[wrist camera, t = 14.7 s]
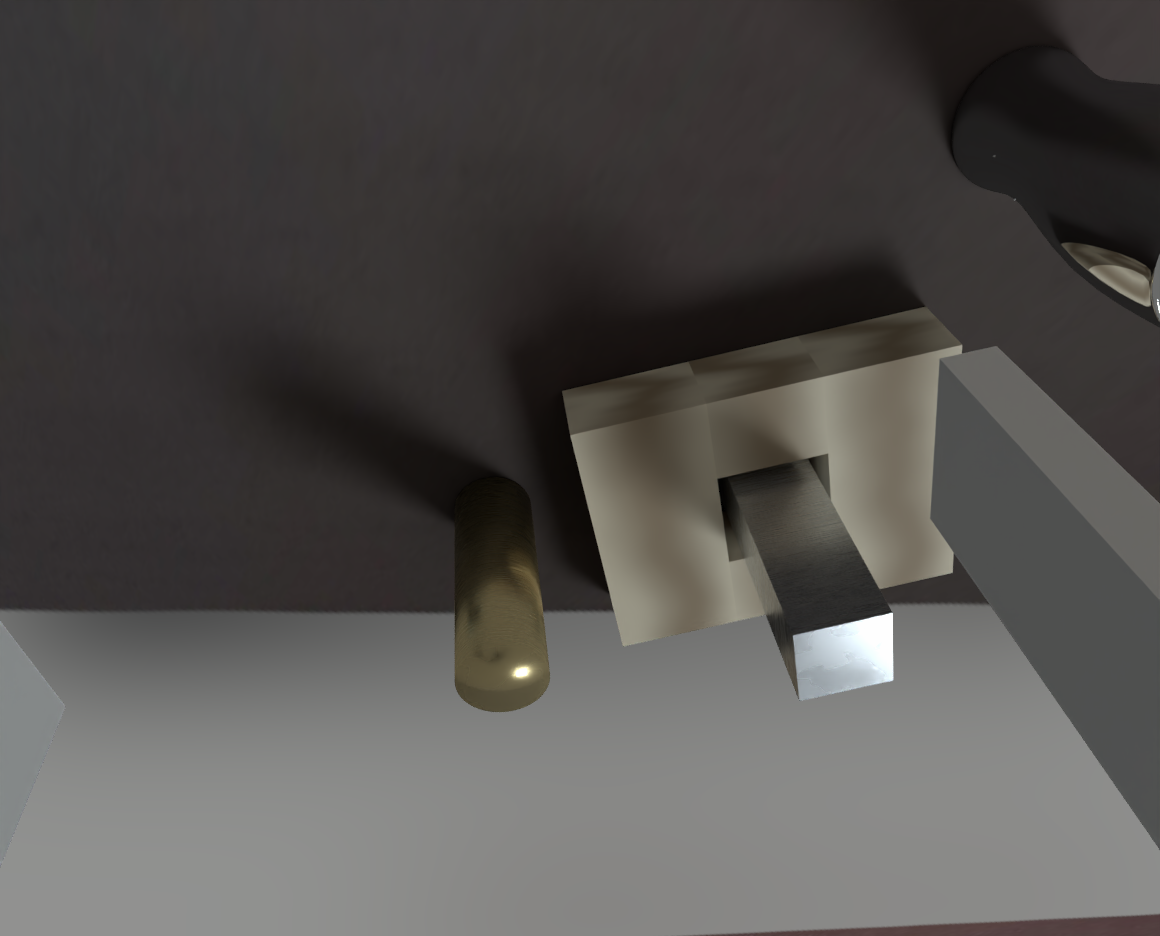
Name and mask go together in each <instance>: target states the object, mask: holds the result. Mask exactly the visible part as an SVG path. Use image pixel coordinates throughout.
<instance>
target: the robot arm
mask: <svg viewBox="0 0 1160 936" xmlns="http://www.w3.org/2000/svg"><path fill="white" fill-rule="evenodd" d="M930 519H931V520H932V522H933V523H934V525H935V526H936V528H937V529H938V531H939V532H940V533H941V535H942V536H943V538H944V539H945V541H946V542H947V544H948V545H949V546H950V548H951V549H952V551H953V552H954V554H955V555H956V556H957V558H958V559H959V561H960V562H961V564H962V565H963V567H964V568H965V569H966V571H967V572H968V574H969V575H970V577H971V578H972V580H973V581H974V582H975V584H976V585H977V587H978V588H979V590H980V591H981V593H982V594H983V595H984V597H985V598H986V600H987V601H988V603H989V604H990V606H991V607H992V608H993V610H994V611H995V613H996V614H997V616H998V617H999V618H1000V620H1001V621H1002V623H1003V624H1004V626H1005V627H1006V629H1007V630H1008V631H1009V633H1010V634H1011V636H1012V637H1013V639H1014V640H1015V642H1016V643H1017V644H1018V646H1019V647H1020V649H1021V650H1022V652H1023V653H1024V655H1025V656H1026V657H1027V659H1028V660H1029V662H1030V663H1031V665H1032V666H1033V667H1034V669H1035V670H1036V672H1037V673H1038V675H1039V676H1040V677H1041V679H1042V680H1043V682H1044V683H1045V685H1046V686H1047V688H1048V689H1049V691H1050V692H1051V693H1052V695H1053V696H1054V698H1055V699H1056V701H1057V702H1058V704H1059V705H1060V706H1061V708H1062V709H1063V711H1064V712H1065V714H1066V715H1067V717H1068V718H1069V719H1070V721H1071V722H1072V724H1073V725H1074V727H1075V728H1076V729H1077V731H1078V732H1079V734H1080V735H1081V736H1082V738H1083V740H1084V741H1085V742H1086V744H1087V745H1088V747H1089V748H1090V750H1091V751H1092V752H1093V754H1094V755H1095V757H1096V758H1097V760H1098V761H1099V763H1100V764H1101V765H1102V767H1103V768H1104V770H1105V771H1106V773H1107V774H1108V775H1109V777H1110V779H1111V780H1112V781H1113V783H1114V784H1115V786H1116V787H1117V788H1118V790H1119V791H1120V793H1121V794H1122V796H1123V797H1124V799H1125V800H1126V802H1127V803H1128V804H1129V806H1130V807H1131V809H1132V810H1133V812H1134V813H1135V815H1136V816H1137V817H1138V819H1139V820H1140V822H1141V823H1142V825H1143V826H1144V827H1145V829H1146V830H1147V832H1148V833H1149V835H1150V836H1151V838H1152V839H1153V841H1154V842H1155V843H1156V845H1157V846H1158V848H1159V849H1160V503H1159V502H1157V501H1156V500H1155V499H1154V498H1153V497H1152V496H1151V495H1150V494H1149V493H1148V492H1147V491H1146V490H1145V489H1144V488H1143V487H1142V486H1141V485H1140V484H1139V483H1138V482H1137V481H1136V480H1135V479H1134V478H1133V477H1132V476H1131V475H1130V474H1128V473H1127V472H1126V471H1125V470H1124V469H1123V468H1122V467H1121V466H1120V465H1119V464H1118V463H1117V462H1116V461H1115V460H1114V459H1113V458H1112V457H1111V456H1110V455H1109V454H1108V453H1107V452H1106V451H1105V450H1104V449H1103V448H1102V447H1100V446H1099V445H1098V444H1097V443H1096V442H1095V441H1094V440H1093V439H1092V438H1091V437H1090V436H1089V435H1088V434H1087V433H1086V432H1085V431H1084V430H1083V429H1082V428H1081V427H1080V426H1079V425H1078V424H1077V423H1076V422H1075V421H1074V420H1073V419H1071V418H1070V417H1069V416H1068V415H1067V414H1066V413H1065V412H1064V411H1063V410H1062V409H1061V408H1060V407H1059V406H1058V405H1057V404H1056V403H1055V402H1054V401H1053V400H1052V399H1051V398H1050V397H1049V396H1048V395H1047V394H1046V393H1045V392H1043V391H1042V390H1041V389H1040V388H1039V387H1038V386H1037V385H1036V384H1035V383H1034V382H1033V381H1032V380H1031V379H1030V378H1029V377H1028V376H1027V375H1026V374H1025V373H1024V372H1023V371H1022V370H1021V369H1020V368H1019V367H1018V366H1017V365H1015V364H1014V363H1013V362H1012V361H1011V360H1010V359H1009V358H1008V357H1007V356H1006V355H1005V354H1004V353H1003V352H1002V351H1001V350H1000V349H999V348H998V347H997V346H995V347H990V348H986V349H981V350H977V351H972V352H967V353H963V354H958V355H954V356H949V357H944V358H940V359H939V376H938V393H937V410H936V427H935V444H934V461H933V478H932V495H931V512H930ZM64 710H65V705H64V704H63V702H62V701H61V700H60V698H59V697H58V696H57V695H56V693H55V692H54V691H53V689H52V688H51V687H50V685H49V684H48V683H47V682H46V680H45V679H44V677H43V676H42V675H41V674H40V672H39V671H38V670H37V668H36V667H35V666H34V664H33V663H32V662H31V660H30V659H29V658H28V657H27V655H26V654H25V653H24V651H23V650H22V649H21V647H20V646H19V645H18V643H17V642H16V641H15V639H14V638H13V637H12V635H11V634H10V633H9V632H8V630H7V629H6V628H5V626H4V625H3V624H2V622H1V621H0V866H1V864H2V861H3V859H4V856H5V854H6V851H7V849H8V847H9V844H10V842H11V839H12V837H13V834H14V832H15V829H16V827H17V825H18V822H19V820H20V817H21V815H22V812H23V810H24V807H25V805H26V802H27V800H28V798H29V795H30V793H31V790H32V788H33V785H34V783H35V780H36V778H37V776H38V773H39V771H40V768H41V766H42V763H43V761H44V759H45V756H46V754H47V751H48V749H49V746H50V744H51V741H52V739H53V736H54V734H55V732H56V729H57V727H58V724H59V722H60V719H61V717H62V715H63V712H64Z"/></svg>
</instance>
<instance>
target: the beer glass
mask: <svg viewBox="0 0 1160 936" xmlns="http://www.w3.org/2000/svg"><path fill="white" fill-rule="evenodd" d="M951 141H952V151H953V155H954V158H955V161H956V163H957V165H958V167H959V169H960V170H961V172H962V173H963V175H964V176H965V177H966V178H967V179H968V180H969V181H971V182H972V183H973V184H975V185H977V186H979V187H981V188H984V189H987V190H990V191H994V192H998V193H1002V194H1006V195H1008V196H1010V197H1011V198H1013V199H1014V200H1016V201H1017V202H1018V203H1019V204H1020V205H1021V206H1022V207H1023V209H1024V210H1025V211H1026V212H1027V213H1028V215H1029V216H1030V218H1031V219H1032V220H1033V222H1034V223H1035V225H1036V226H1037V227H1038V229H1039V230H1040V231H1041V233H1042V234H1043V235H1044V237H1045V238H1046V239H1047V241H1048V242H1049V243H1050V245H1051V246H1052V247H1053V248H1054V249H1055V251H1056V252H1057V253H1058V254H1059V255H1060V256H1061V257H1062V258H1063V259H1064V261H1065V262H1066V263H1067V264H1068V265H1069V266H1070V267H1071V268H1072V269H1073V270H1074V271H1075V272H1076V273H1078V274H1079V275H1080V276H1081V277H1082V278H1084V279H1085V280H1086V281H1087V282H1088V283H1090V284H1091V285H1092V286H1093V287H1094V288H1096V289H1097V290H1098V291H1100V292H1101V293H1103V294H1104V295H1106V296H1107V297H1109V298H1110V299H1112V300H1113V301H1115V302H1116V303H1118V304H1119V305H1121V306H1123V307H1124V308H1126V309H1128V310H1129V311H1131V312H1133V313H1134V314H1136V315H1138V316H1140V317H1141V318H1143V319H1145V320H1147V321H1149V322H1150V323H1152V324H1154V325H1156V326H1158V327H1160V84H1150V83H1138V82H1124V81H1116V80H1108V79H1105V78H1102V77H1100V76H1098V75H1096V74H1095V73H1094V72H1093V71H1092V70H1091V69H1090V68H1089V67H1088V66H1086V65H1085V64H1084V63H1083V62H1082V61H1081V60H1080V59H1079V58H1077V57H1076V56H1075V55H1073V54H1072V53H1070V52H1068V51H1066V50H1064V49H1061V48H1058V47H1054V46H1045V45H1041V46H1030V47H1025V48H1022V49H1019V50H1016V51H1013V52H1011V53H1009V54H1007V55H1005V56H1003V57H1001V58H1000V59H998V60H997V61H995V62H994V63H992V64H991V65H990V66H989V67H988V68H986V69H985V70H984V71H983V72H982V73H981V74H980V75H979V76H978V77H977V78H976V79H975V81H974V82H973V83H972V84H971V86H970V87H969V89H968V90H967V92H966V93H965V95H964V97H963V98H962V100H961V102H960V104H959V107H958V109H957V112H956V115H955V118H954V122H953V127H952V137H951Z"/></svg>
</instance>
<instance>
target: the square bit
mask: <svg viewBox="0 0 1160 936" xmlns="http://www.w3.org/2000/svg"><path fill="white" fill-rule="evenodd" d="M719 485H720V492H721V499H722V503H723V506H724V509H725V511H726V514H727V516H728V519H729V521H730V524H731V527H732V529H733V532H734V534H735V537H736V539H737V542H738V545H739V547H740V550H741V552H742V555H743V557H744V560H745V563H746V565H747V568H748V570H749V573H750V575H751V578H752V581H753V583H754V586H755V588H756V591H757V593H758V596H759V599H760V601H761V604H762V606H763V609H764V611H765V614H766V616H767V619H768V621H769V624H770V627H771V629H772V632H773V634H774V637H775V640H776V642H777V645H778V647H779V650H780V653H781V655H782V658H783V660H784V662H785V665H786V668H787V671H788V673H789V675H790V678H791V681H792V683H793V686H794V688H795V691H796V694H797V696H798V699H799V701H802V700H807V699H811V698H816V697H820V696H824V695H829V694H834V693H838V692H843V691H847V690H852V689H856V688H860V687H865V686H870V685H874V684H878V683H883V682H888V681H892V680H893V616H892V615H893V613H892V611H891V609H890V607H889V606H888V604H887V602H886V600H885V598H884V597H883V595H882V593H881V591H880V589H879V587H878V586H877V584H876V582H875V580H874V578H873V576H872V575H871V573H870V571H869V569H868V567H867V565H866V564H865V562H864V560H863V558H862V556H861V555H860V553H859V551H858V549H857V547H856V545H855V544H854V542H853V540H852V538H851V536H850V534H849V533H848V531H847V529H846V527H845V525H844V523H843V522H842V520H841V518H840V516H839V514H838V513H837V511H836V509H835V507H834V505H833V503H832V502H831V500H830V498H829V496H828V494H827V492H826V491H825V489H824V487H823V485H822V483H821V481H820V480H819V478H818V476H817V474H816V472H815V470H814V469H813V467H812V465H811V463H810V461H809V460H808V458H806V459H802V460H797V461H793V462H789V463H784V464H780V465H776V466H771V467H767V468H762V469H758V470H754V471H749V472H745V473H741V474H736V475H732V476H727V477H723V478H719Z"/></svg>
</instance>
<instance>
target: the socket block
mask: <svg viewBox="0 0 1160 936" xmlns="http://www.w3.org/2000/svg"><path fill="white" fill-rule="evenodd" d="M958 354H962V344H961V343H960V342H959V341H958V340H957V339H956V338H955V337H954V336H953V335H952V334H951V333H950V332H949V331H948V329H947V328H946V327H945V326H944V325H943V324H942V323H941V322H940V321H939V320H938V319H937V318H936V317H935V316H934V315H933V314H932V313H931V312H930V311H929V310H928V308H927V307H922V308H917V309H913V310H909V311H904V312H900V313H896V314H891V315H887V316H883V317H879V318H874V319H870V320H866V321H861V322H857V323H853V324H848V325H844V326H840V327H835V328H831V329H827V330H823V331H818V332H814V333H810V334H805V335H801V336H797V337H792V338H788V339H784V340H779V341H775V342H771V343H767V344H762V345H758V346H754V347H749V348H745V349H741V350H736V351H732V352H728V353H723V354H719V355H715V356H710V357H706V358H702V359H698V360H693V361H689V362H685V363H680V364H676V365H672V366H667V367H663V368H659V369H654V370H650V371H646V372H642V373H637V374H633V375H629V376H624V377H620V378H616V379H611V380H607V381H603V382H598V383H594V384H590V385H586V386H581V387H577V388H573V389H568V390H564V391H562V394H563V399H564V405H565V410H566V415H567V421H568V426H569V432H570V436H571V440H572V444H573V448H574V452H575V456H576V460H577V464H578V468H579V472H580V476H581V480H582V484H583V488H584V492H585V496H586V500H587V504H588V508H589V512H590V516H591V520H592V524H593V528H594V532H595V536H596V540H597V544H598V548H599V552H600V556H601V560H602V564H603V568H604V572H605V576H606V580H607V584H608V588H609V592H610V596H611V600H612V604H613V608H614V612H615V616H616V620H617V624H618V628H619V632H620V636H621V640H622V644H623V647H624V646H628V645H632V644H637V643H642V642H646V641H650V640H655V639H659V638H664V637H668V636H673V635H677V634H681V633H686V632H691V631H695V630H699V629H704V628H708V627H713V626H717V625H722V624H726V623H731V622H735V621H739V620H744V619H748V618H753V617H757V616H762V615H766V614H765V611H764V609H763V606H762V604H761V601H760V599H759V596H758V593H757V591H756V588H755V586H754V583H753V581H752V578H751V575H750V573H749V570H748V568H747V565H746V563H745V560H744V557H743V555H742V552H741V550H740V547H739V545H738V542H737V539H736V537H735V534H734V532H733V529H732V527H731V524H730V521H729V519H728V516H727V514H726V511H724V512H722V508H721V502H720V495H719V488H718V481H717V479H719V478H723V477H727V476H732V475H736V474H741V473H745V472H749V471H754V470H758V469H762V468H767V467H771V466H776V465H780V464H784V463H789V462H793V461H797V460H802V459H806V458H808V460H809V461H810V463H811V465H812V467H813V469H814V470H815V472H816V474H817V476H818V478H819V480H820V481H821V483H822V485H823V487H824V489H825V491H826V492H827V494H828V496H829V498H830V500H831V502H832V503H833V505H834V507H835V509H836V511H837V513H838V514H839V516H840V518H841V520H842V522H843V523H844V525H845V527H846V529H847V531H848V533H849V534H850V536H851V538H852V540H853V542H854V544H855V545H856V547H857V549H858V551H859V553H860V555H861V556H862V558H863V560H864V562H865V564H866V565H867V567H868V569H869V571H870V573H871V575H872V576H873V578H874V580H875V582H876V584H877V586H878V587H879V589H882V588H887V587H891V586H896V585H900V584H904V583H909V582H913V581H918V580H922V579H927V578H931V577H936V576H940V575H945V574H949V573H953V551H952V549H951V548H950V546H949V545H948V544H947V542H946V541H945V539H944V538H943V536H942V535H941V533H940V532H939V531H938V529H937V528H936V526H935V525H934V523H933V522H932V520H931V519H930V512H931V495H932V478H933V461H934V444H935V427H936V410H937V393H938V376H939V359H940V358H944V357H949V356H954V355H958Z"/></svg>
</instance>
